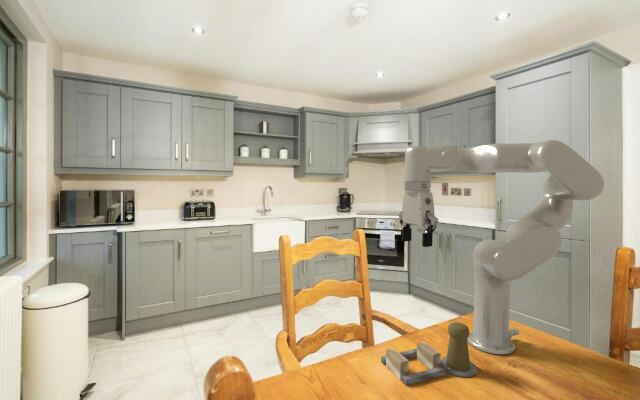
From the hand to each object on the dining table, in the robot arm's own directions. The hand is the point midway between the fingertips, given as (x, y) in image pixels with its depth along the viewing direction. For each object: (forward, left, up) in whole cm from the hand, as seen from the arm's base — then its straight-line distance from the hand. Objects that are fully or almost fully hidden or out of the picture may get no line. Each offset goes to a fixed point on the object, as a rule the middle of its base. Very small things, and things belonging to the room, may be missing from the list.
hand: (416, 243), depth 97 cm
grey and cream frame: (+10, +12, -30) cm, 34 cm away
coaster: (-2, +16, -30) cm, 34 cm away
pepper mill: (-1, +16, -30) cm, 34 cm away
